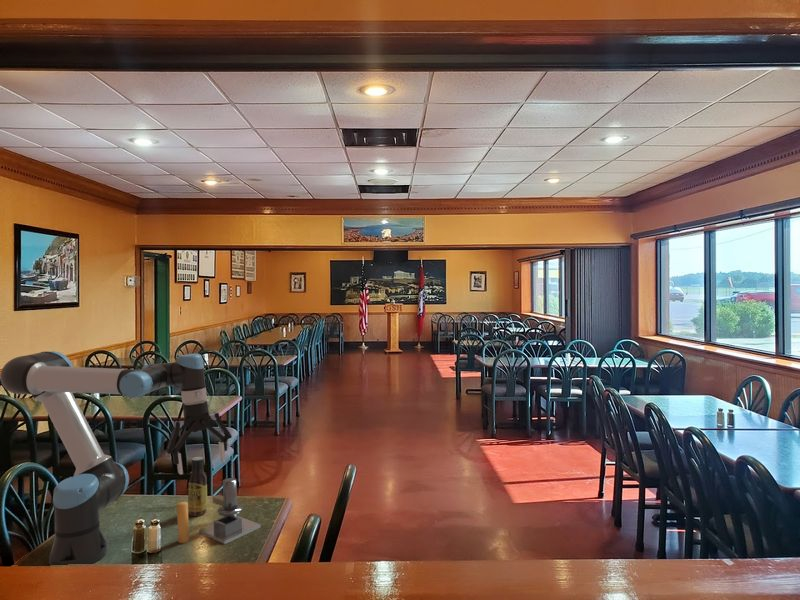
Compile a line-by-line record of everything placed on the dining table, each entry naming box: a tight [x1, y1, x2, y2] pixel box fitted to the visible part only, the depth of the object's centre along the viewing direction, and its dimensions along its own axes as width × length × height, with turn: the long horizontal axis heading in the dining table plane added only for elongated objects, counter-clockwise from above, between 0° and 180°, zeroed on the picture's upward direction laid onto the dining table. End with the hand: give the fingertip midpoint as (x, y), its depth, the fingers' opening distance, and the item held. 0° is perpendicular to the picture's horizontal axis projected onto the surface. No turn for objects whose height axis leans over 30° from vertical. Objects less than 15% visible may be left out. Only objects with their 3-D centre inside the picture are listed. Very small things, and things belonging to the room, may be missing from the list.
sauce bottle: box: [187, 456, 208, 517], centre depth 194 cm, size 7×6×20 cm
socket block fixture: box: [198, 477, 262, 545], centre depth 182 cm, size 19×14×15 cm
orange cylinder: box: [176, 501, 190, 544], centre depth 174 cm, size 3×3×12 cm
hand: (202, 467), depth 176 cm, fingers open, 13 cm apart
